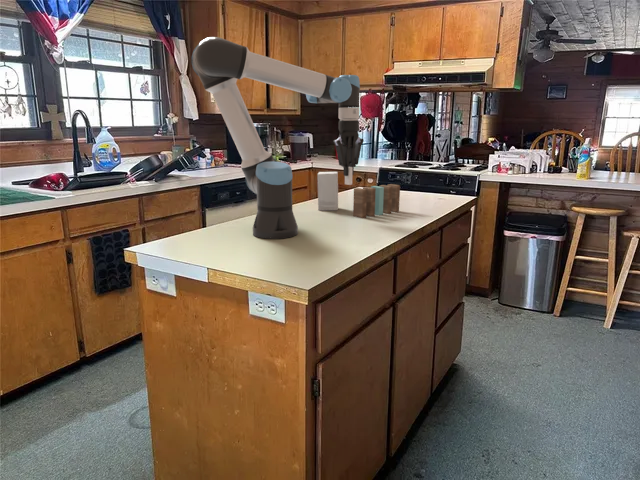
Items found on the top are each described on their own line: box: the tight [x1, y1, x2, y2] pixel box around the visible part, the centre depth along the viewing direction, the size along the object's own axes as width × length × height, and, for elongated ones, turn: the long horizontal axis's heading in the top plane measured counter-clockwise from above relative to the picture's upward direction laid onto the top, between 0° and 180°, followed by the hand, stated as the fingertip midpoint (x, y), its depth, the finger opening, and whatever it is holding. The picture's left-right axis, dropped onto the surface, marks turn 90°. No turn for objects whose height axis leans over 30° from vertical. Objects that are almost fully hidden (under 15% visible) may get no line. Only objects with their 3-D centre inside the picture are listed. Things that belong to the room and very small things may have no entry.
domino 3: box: [379, 184, 392, 215], centre depth 194 cm, size 2×5×11 cm, turn 37°
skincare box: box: [316, 171, 339, 211], centre depth 200 cm, size 8×7×16 cm
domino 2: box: [362, 186, 376, 218], centre depth 188 cm, size 2×5×11 cm, turn 37°
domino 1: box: [352, 187, 367, 219], centre depth 186 cm, size 2×5×11 cm, turn 37°
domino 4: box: [387, 183, 401, 213], centre depth 197 cm, size 2×5×11 cm, turn 37°
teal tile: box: [370, 185, 384, 216], centre depth 191 cm, size 2×5×11 cm, turn 38°
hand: (348, 184), depth 180 cm, fingers closed
